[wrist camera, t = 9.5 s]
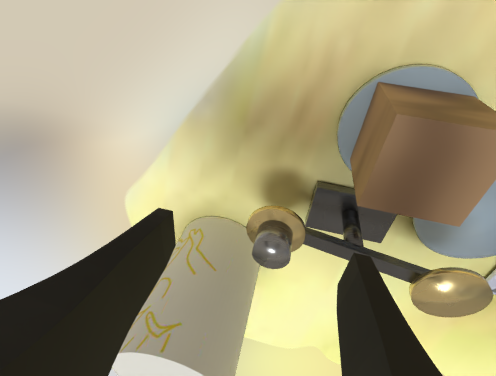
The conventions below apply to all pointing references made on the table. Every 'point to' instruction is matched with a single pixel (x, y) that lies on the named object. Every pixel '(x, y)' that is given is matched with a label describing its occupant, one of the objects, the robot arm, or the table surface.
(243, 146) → the table surface
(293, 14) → the table surface
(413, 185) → the block
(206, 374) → the cup
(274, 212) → the balance
